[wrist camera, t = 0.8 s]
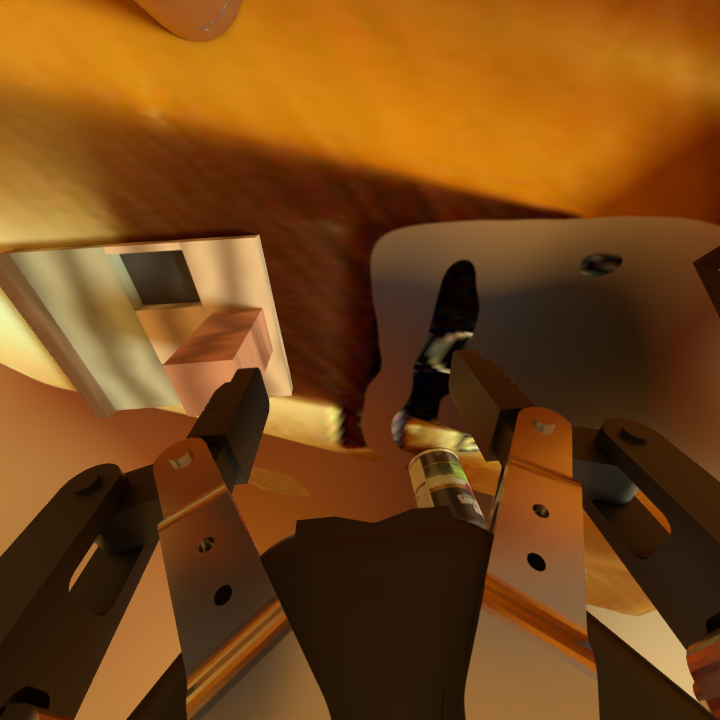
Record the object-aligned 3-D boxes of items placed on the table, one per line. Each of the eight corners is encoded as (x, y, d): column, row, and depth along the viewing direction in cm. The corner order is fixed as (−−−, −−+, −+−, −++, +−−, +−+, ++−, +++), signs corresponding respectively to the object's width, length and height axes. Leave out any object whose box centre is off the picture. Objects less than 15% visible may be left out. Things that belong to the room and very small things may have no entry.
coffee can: (439, 439, 53) (469, 514, 41) (467, 463, 57) (502, 537, 45) (397, 466, 56) (413, 542, 44) (426, 486, 61) (448, 561, 49)
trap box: (259, 234, 32) (251, 239, 29) (292, 387, 44) (289, 402, 41) (12, 250, 31) (-22, 257, 28) (114, 402, 43) (98, 418, 40)
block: (262, 308, 35) (232, 359, 25) (273, 350, 38) (250, 411, 28) (213, 311, 34) (162, 365, 24) (227, 353, 38) (188, 416, 28)
